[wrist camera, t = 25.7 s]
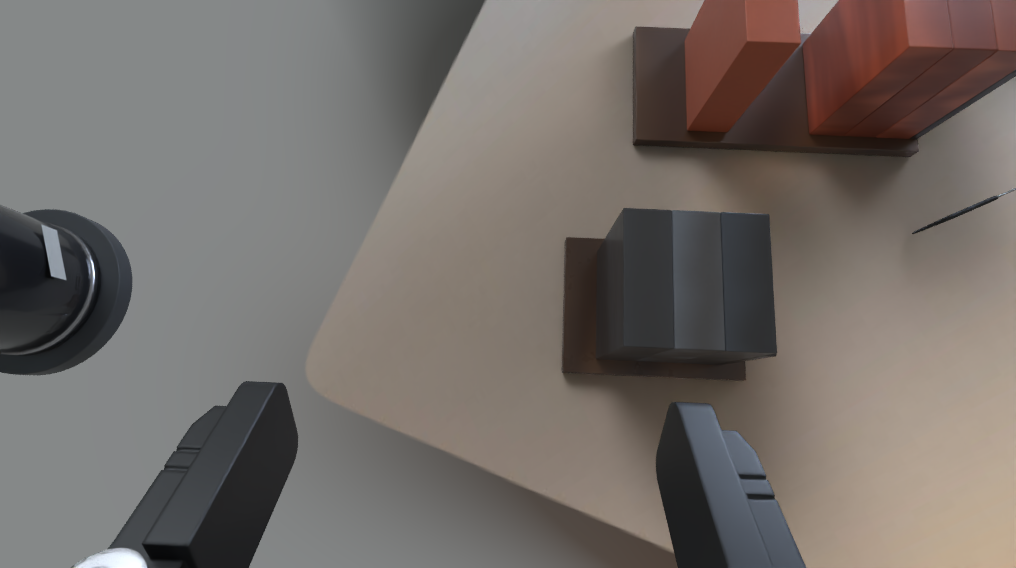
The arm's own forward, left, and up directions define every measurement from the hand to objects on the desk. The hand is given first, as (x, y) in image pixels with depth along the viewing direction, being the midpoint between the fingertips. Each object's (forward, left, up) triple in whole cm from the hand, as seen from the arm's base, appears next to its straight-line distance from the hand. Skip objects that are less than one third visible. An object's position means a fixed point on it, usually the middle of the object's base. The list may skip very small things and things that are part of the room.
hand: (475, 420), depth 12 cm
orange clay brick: (+7, +29, -28) cm, 41 cm away
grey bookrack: (+8, +11, -29) cm, 32 cm away
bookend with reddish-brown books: (+12, +31, -29) cm, 44 cm away
